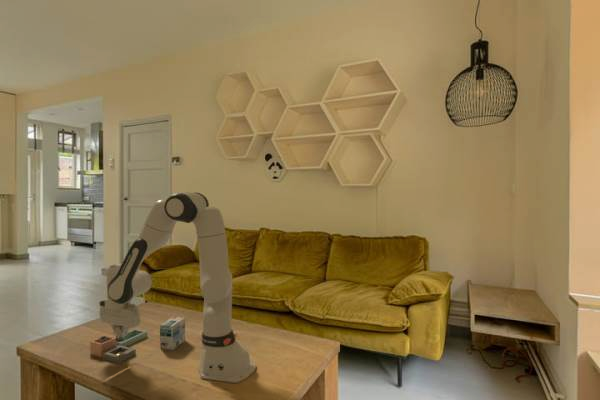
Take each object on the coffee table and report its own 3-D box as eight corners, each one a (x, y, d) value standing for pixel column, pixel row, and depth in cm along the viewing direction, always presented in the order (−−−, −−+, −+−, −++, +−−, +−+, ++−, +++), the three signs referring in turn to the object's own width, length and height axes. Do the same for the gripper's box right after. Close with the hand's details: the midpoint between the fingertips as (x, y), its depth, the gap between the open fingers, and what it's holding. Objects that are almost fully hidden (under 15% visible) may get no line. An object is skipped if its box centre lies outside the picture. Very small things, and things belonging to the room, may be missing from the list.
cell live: (127, 339, 140) (126, 324, 140) (119, 342, 137) (119, 327, 137) (121, 338, 142) (120, 322, 142) (114, 341, 139) (113, 325, 138)
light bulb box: (172, 350, 146) (172, 326, 146) (159, 349, 148) (159, 324, 148) (185, 340, 157) (185, 317, 157) (173, 338, 158) (173, 316, 158)
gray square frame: (135, 356, 141) (135, 349, 141) (118, 365, 134) (118, 357, 134) (119, 351, 145) (119, 344, 145) (101, 360, 138) (101, 352, 138)
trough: (147, 338, 159) (147, 331, 159) (121, 350, 146) (121, 343, 146) (135, 335, 162) (135, 328, 162) (108, 347, 149) (108, 340, 149)
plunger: (127, 354, 141) (127, 352, 141) (117, 359, 136) (117, 357, 136) (119, 352, 142) (119, 350, 142) (110, 357, 138) (110, 355, 138)
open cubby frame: (116, 351, 145) (116, 338, 145) (101, 358, 139) (101, 344, 139) (105, 348, 148) (105, 335, 148) (90, 355, 141) (90, 341, 141)
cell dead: (109, 350, 144) (109, 336, 144) (102, 354, 141) (102, 339, 141) (104, 349, 145) (104, 334, 145) (96, 352, 142) (96, 337, 142)
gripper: (143, 302, 138) (144, 335, 138) (109, 297, 146) (111, 328, 146) (130, 307, 132) (131, 341, 132) (96, 301, 140) (97, 334, 141)
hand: (120, 334), depth 139 cm, fingers closed on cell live, 3 cm apart
